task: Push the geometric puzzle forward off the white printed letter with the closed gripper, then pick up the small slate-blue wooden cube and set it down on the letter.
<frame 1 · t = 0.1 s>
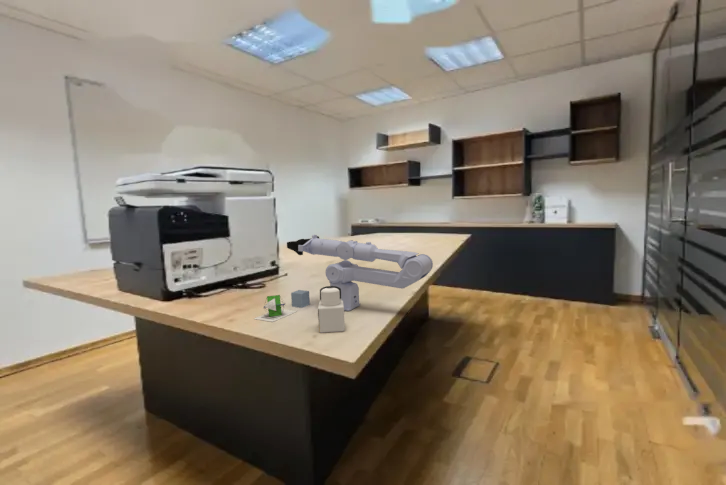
hand: (294, 243, 134), 22 cm above the table, tool horizontal, fingers open, 7 cm apart
geometric puzzle: (275, 315, 119), resting on letter
slate cube: (300, 305, 130), on the table
letter: (276, 315, 120), on the table
medicine bottle: (331, 328, 105), on the table
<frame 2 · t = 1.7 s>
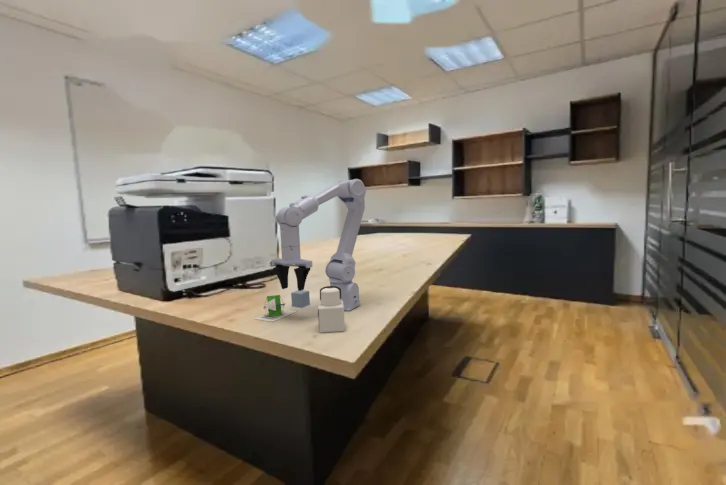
hand: (292, 289, 114), 9 cm above the table, tool pointing down, fingers open, 6 cm apart
nothing on the table moved.
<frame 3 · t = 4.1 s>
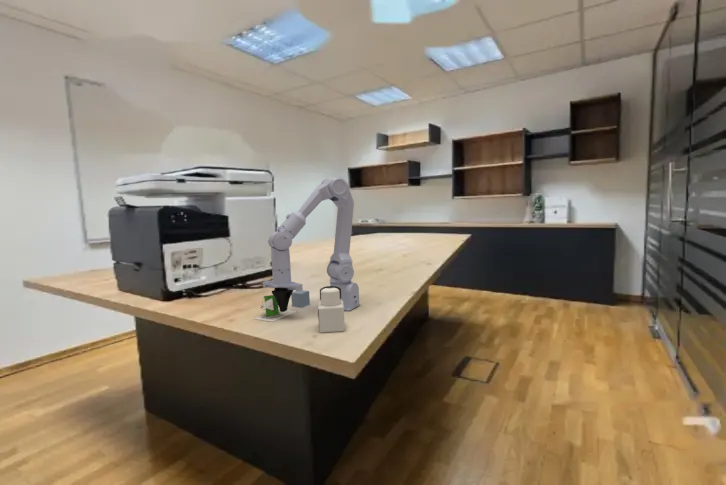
hand: (283, 311, 117), 2 cm above the table, tool pointing down, fingers closed
geometric puzzle: (272, 315, 120), resting on letter, touching gripper
everything else where it was.
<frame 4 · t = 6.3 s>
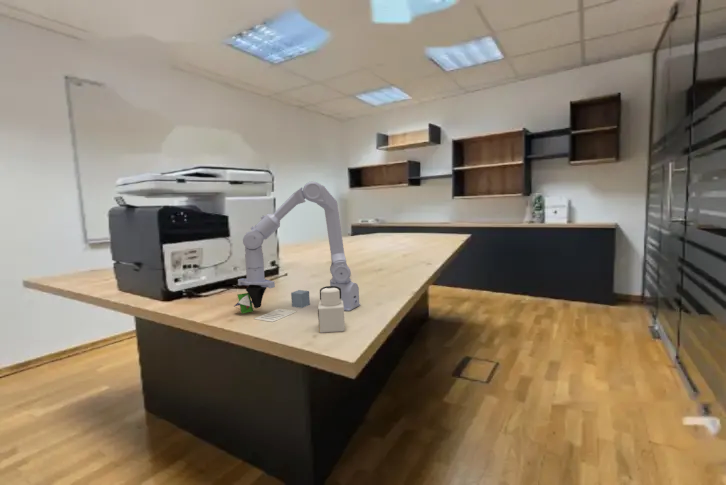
hand: (257, 307, 123), 2 cm above the table, tool pointing down, fingers closed
geometric puzzle: (246, 312, 123), on the table, touching gripper
everything else where it was.
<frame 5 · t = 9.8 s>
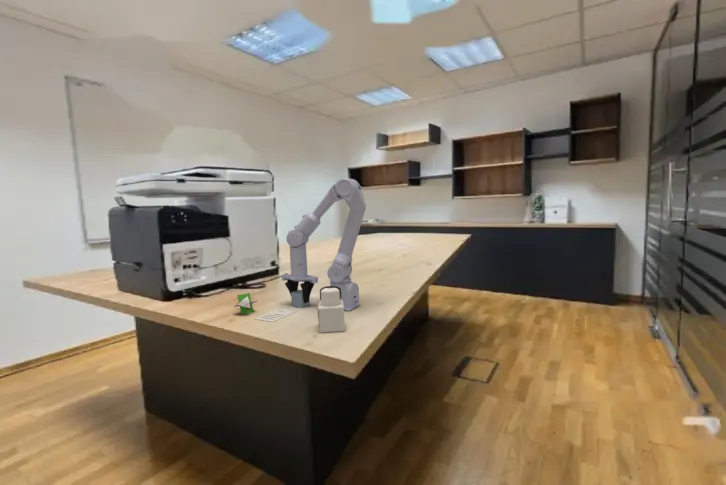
hand: (300, 301, 130), 1 cm above the table, tool pointing down, fingers closed on slate cube, 4 cm apart
geometric puzzle: (246, 313, 123), on the table
slate cube: (300, 305, 130), on the table, touching gripper
everything else where it was.
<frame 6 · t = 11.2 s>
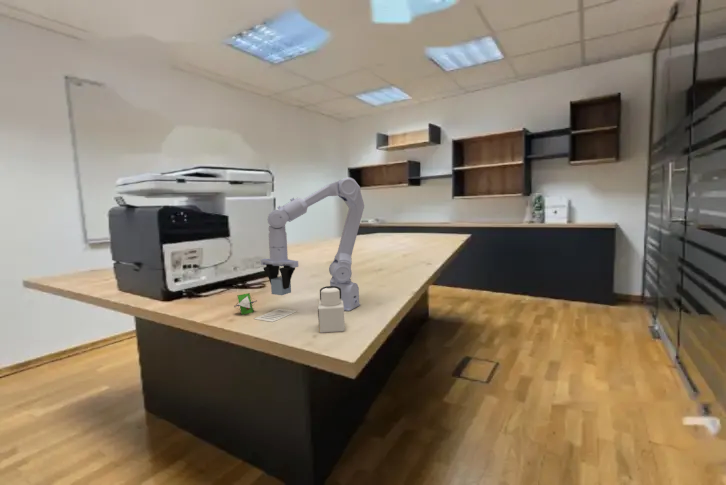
hand: (280, 287, 121), 9 cm above the table, tool pointing down, fingers closed on slate cube, 4 cm apart
slate cube: (281, 293, 122), point 7 cm above the table, touching gripper
everything else where it was.
when the fingers open (2 cm above the table, at t = 13.0 s): slate cube stays where it is, resting on letter.
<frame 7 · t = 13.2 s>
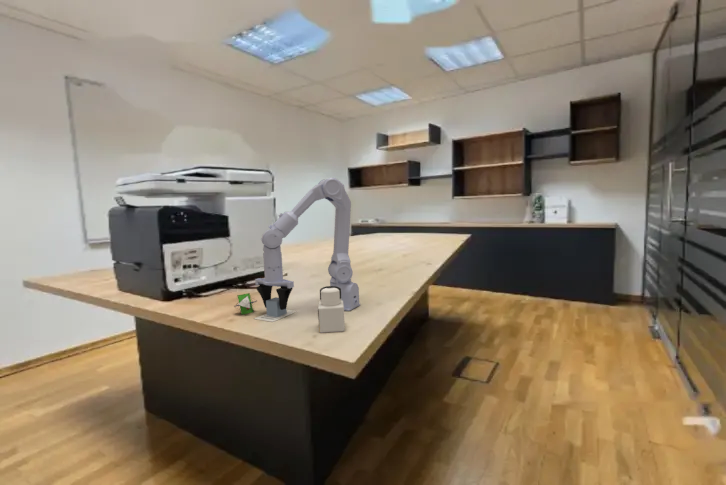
hand: (275, 307, 119), 2 cm above the table, tool pointing down, fingers open, 6 cm apart
slate cube: (276, 314, 120), resting on letter
everything else where it was.
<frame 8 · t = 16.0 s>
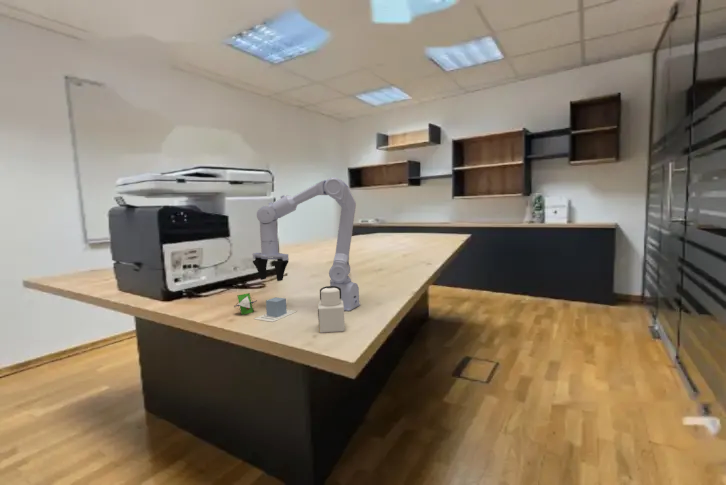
hand: (271, 279, 128), 10 cm above the table, tool pointing down, fingers open, 7 cm apart
nothing on the table moved.
at the end: slate cube inside the target area (0.4 cm from its centre), resting on letter; slate cube tilted 0°; geometric puzzle inside the target area (6.9 cm from its centre), on the table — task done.
